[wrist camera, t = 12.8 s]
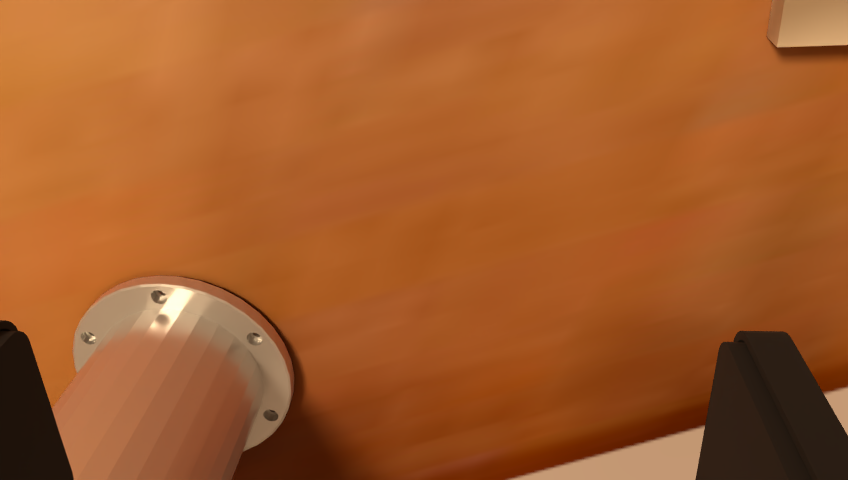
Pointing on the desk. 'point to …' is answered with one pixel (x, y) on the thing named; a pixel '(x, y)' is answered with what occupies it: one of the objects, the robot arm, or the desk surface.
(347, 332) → the desk surface
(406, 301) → the desk surface
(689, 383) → the desk surface
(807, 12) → the base board
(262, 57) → the desk surface
